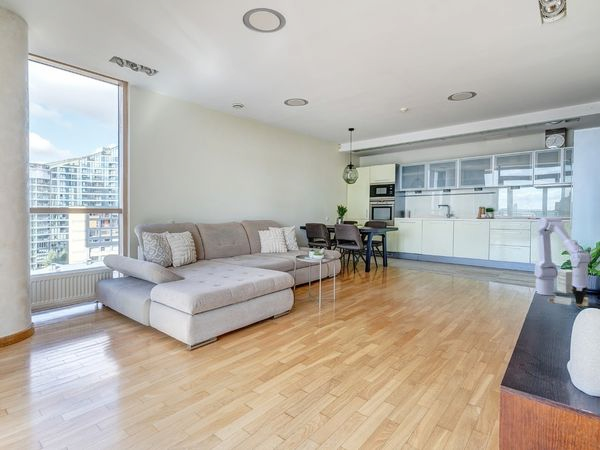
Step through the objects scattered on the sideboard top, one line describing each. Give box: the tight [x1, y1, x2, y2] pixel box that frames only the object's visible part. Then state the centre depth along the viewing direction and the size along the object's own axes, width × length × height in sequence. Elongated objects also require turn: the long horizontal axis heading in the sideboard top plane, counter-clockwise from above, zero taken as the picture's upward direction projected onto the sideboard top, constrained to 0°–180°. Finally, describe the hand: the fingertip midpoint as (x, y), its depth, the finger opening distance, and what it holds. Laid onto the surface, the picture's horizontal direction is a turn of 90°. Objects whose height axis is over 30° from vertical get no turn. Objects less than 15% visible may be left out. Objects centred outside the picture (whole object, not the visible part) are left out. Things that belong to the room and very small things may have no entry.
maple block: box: [574, 296, 589, 307], centre depth 156 cm, size 5×4×4 cm
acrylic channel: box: [554, 295, 572, 306], centre depth 161 cm, size 6×7×2 cm
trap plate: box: [547, 298, 555, 304], centre depth 164 cm, size 3×7×1 cm, turn 137°
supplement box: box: [556, 269, 574, 294], centre depth 181 cm, size 7×7×13 cm
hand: (579, 302), depth 157 cm, fingers open, 7 cm apart
